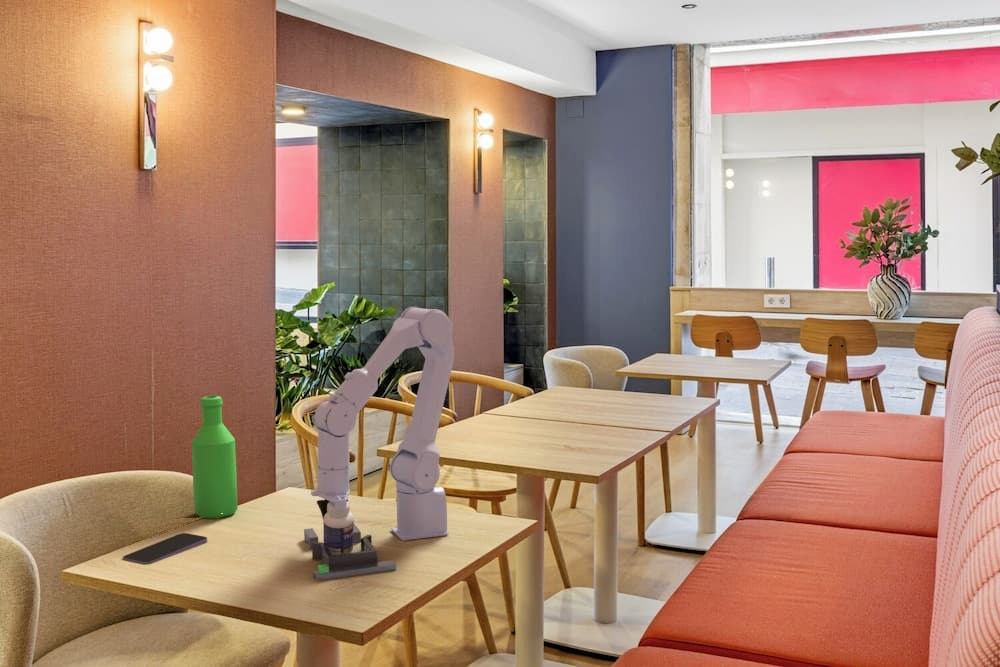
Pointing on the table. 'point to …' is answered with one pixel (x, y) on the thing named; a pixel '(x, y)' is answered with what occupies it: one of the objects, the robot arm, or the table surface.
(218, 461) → the bottle
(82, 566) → the table surface
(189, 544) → the smartphone
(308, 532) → the grey u-shaped piece
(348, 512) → the pill bottle
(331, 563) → the grey bottle cradle
